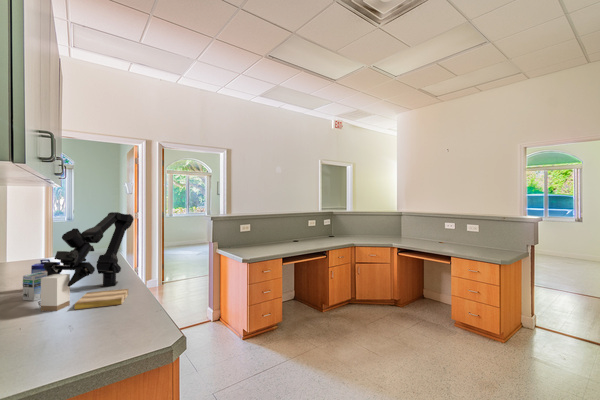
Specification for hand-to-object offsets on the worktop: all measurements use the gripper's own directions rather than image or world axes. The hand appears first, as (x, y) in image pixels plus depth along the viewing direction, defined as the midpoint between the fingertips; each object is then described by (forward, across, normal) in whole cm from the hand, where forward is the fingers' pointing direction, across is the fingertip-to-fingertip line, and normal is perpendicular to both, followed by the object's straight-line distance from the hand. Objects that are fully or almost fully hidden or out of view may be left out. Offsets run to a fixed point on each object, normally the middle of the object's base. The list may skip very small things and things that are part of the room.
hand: (57, 286), depth 115 cm
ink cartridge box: (-12, -28, +24) cm, 38 cm away
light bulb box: (-3, -18, +15) cm, 24 cm away
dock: (+1, +14, +11) cm, 18 cm away
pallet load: (+7, 0, +6) cm, 9 cm away
